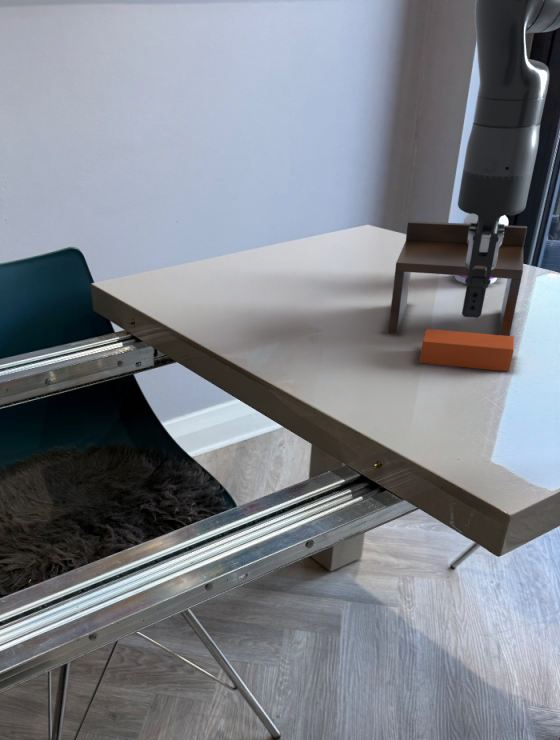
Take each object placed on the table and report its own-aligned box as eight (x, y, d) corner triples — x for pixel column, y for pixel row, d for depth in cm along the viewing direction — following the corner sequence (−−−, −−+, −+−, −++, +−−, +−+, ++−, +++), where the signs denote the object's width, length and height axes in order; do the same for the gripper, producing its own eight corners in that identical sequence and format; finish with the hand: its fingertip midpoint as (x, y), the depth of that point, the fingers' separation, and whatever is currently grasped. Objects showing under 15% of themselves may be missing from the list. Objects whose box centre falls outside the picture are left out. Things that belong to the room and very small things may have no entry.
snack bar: (509, 358, 103) (514, 336, 101) (509, 371, 99) (513, 349, 97) (422, 349, 106) (425, 328, 104) (419, 363, 103) (422, 341, 101)
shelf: (509, 313, 116) (527, 226, 109) (507, 343, 106) (527, 250, 99) (398, 304, 121) (408, 220, 114) (387, 333, 111) (398, 243, 104)
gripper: (534, 181, 83) (503, 328, 92) (533, 155, 94) (505, 288, 103) (459, 178, 85) (436, 322, 94) (467, 153, 96) (446, 283, 105)
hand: (472, 304), depth 98 cm, fingers open, 8 cm apart
